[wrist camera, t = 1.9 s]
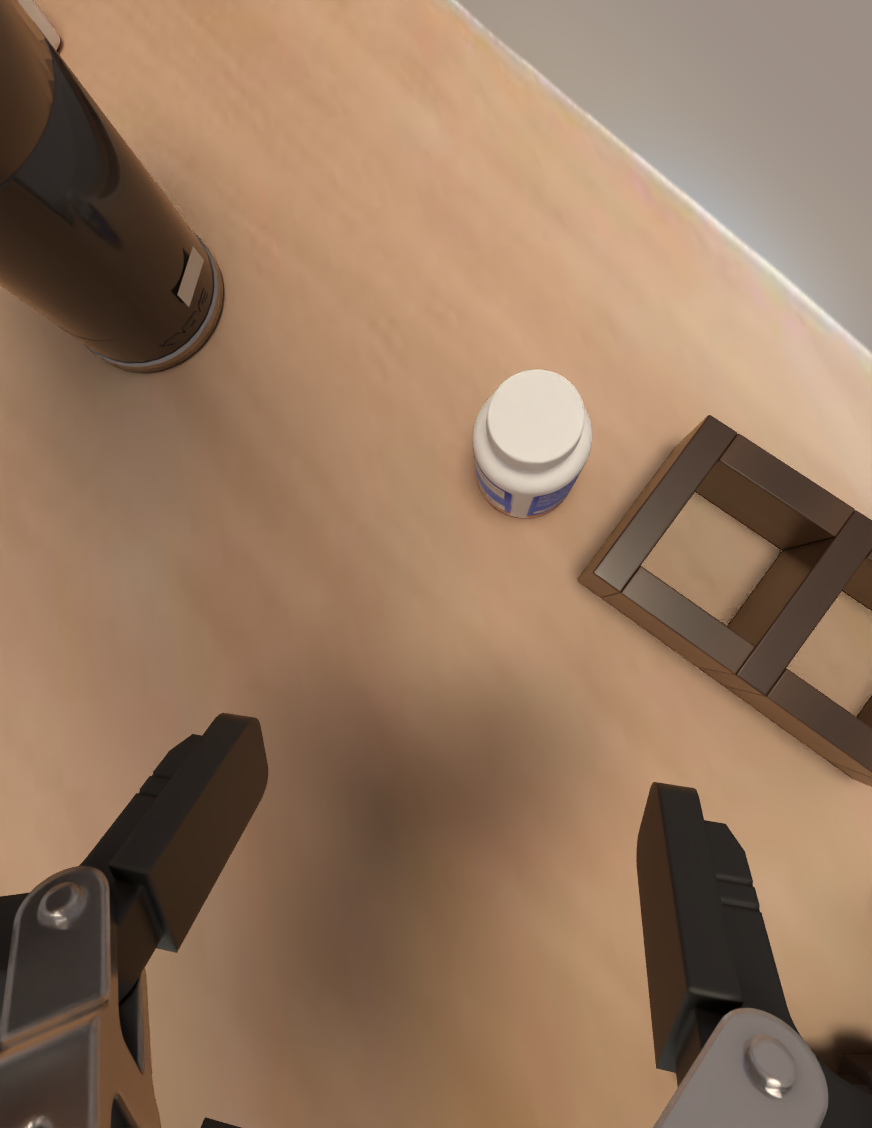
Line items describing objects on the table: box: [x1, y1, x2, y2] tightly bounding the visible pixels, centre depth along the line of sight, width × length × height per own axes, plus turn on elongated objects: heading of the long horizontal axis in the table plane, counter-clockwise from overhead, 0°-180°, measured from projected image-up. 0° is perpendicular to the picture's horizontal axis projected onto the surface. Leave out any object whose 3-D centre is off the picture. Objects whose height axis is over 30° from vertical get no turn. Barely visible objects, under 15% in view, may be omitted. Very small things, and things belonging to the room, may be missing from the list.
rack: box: [578, 415, 872, 787], centre depth 30 cm, size 17×9×5 cm, turn 53°
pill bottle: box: [473, 369, 592, 518], centre depth 29 cm, size 5×5×10 cm
